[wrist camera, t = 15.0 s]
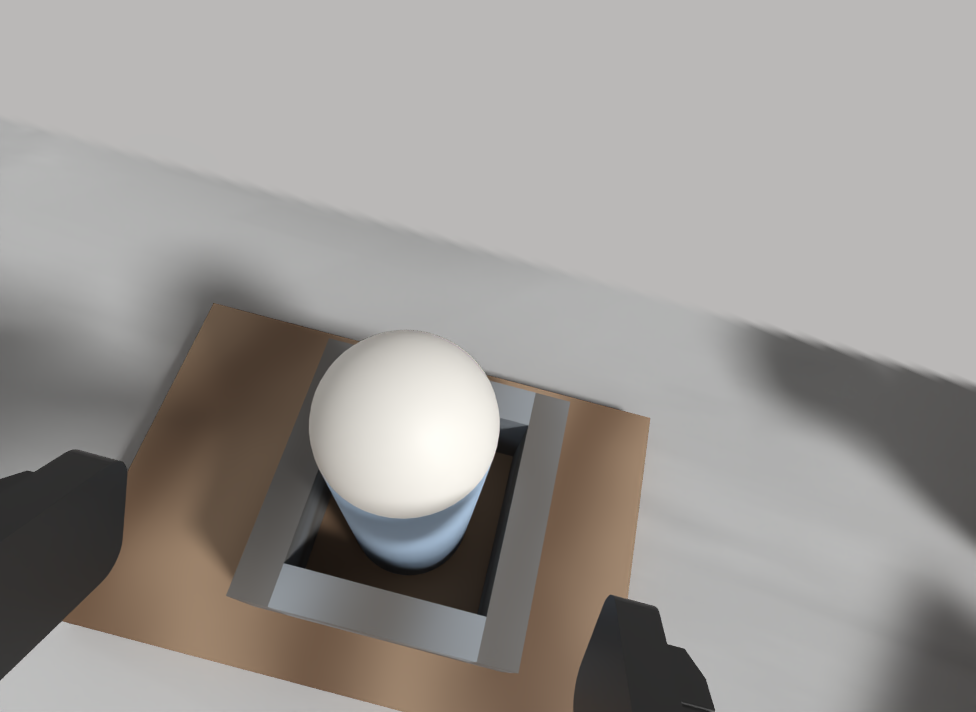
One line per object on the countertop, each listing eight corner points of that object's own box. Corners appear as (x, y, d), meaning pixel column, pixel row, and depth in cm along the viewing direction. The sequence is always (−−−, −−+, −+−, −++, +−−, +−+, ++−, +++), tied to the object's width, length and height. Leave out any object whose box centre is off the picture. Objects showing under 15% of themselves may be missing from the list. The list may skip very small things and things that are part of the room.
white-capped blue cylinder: (478, 476, 23) (530, 323, 13) (451, 588, 22) (483, 522, 11) (373, 449, 23) (335, 273, 13) (338, 558, 22) (258, 463, 11)
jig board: (640, 428, 26) (684, 383, 22) (596, 760, 21) (643, 784, 17) (221, 317, 26) (186, 251, 22) (70, 620, 21) (-14, 609, 17)
